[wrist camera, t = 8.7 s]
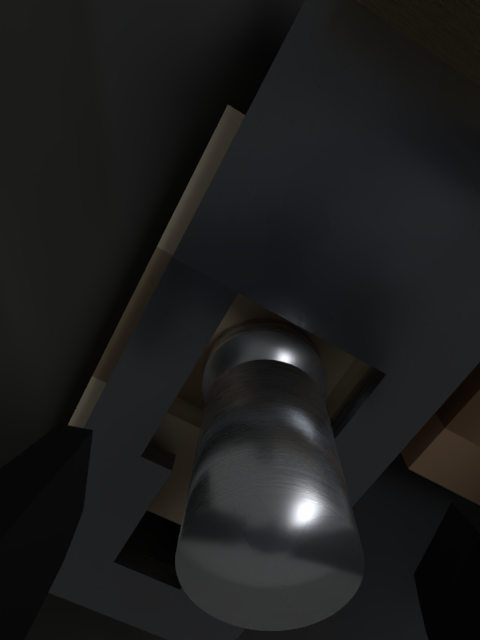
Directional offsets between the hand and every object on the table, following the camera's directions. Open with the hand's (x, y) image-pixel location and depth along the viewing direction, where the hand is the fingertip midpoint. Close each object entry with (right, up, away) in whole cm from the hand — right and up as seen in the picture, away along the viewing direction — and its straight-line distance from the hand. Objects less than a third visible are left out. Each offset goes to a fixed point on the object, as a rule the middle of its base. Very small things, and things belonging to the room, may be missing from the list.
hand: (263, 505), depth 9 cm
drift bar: (0, +2, +4) cm, 4 cm away
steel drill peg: (0, +2, +5) cm, 6 cm away
